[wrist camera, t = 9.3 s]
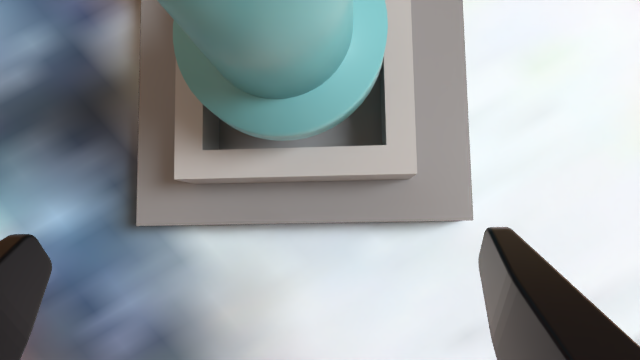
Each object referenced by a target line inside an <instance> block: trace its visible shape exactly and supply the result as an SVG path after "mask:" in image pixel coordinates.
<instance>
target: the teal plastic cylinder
mask: <svg viewBox="0 0 640 360" xmlns="http://www.w3.org/2000/svg"><path fill="white" fill-rule="evenodd" d="M157 1H158V2H159V3H160V4H161V6H162V7H163V8H164V9H165V10H166V11H167V12H168V14H169V15H170V16H171V17H172V18H173V19H174V21H173V45H174V52H175V56H176V60H177V64H178V67H179V69H180V71H181V74H182V76H183V78H184V80H185V82H186V83H187V85H188V87H189V88H190V90H191V91H192V92H193V94H194V95H195V96H196V97H197V99H198V100H199V101H200V102H201V103H202V104H203V105H204V106H205V107H207V108H208V109H209V110H210V111H211V112H212V113H214V114H215V115H216V116H217V117H219V118H220V119H221V120H223V121H224V122H225V123H227V124H228V125H230V126H231V127H233V128H235V129H237V130H239V131H240V132H242V133H245V134H248V135H251V136H253V137H257V138H262V139H266V140H276V141H289V140H298V139H304V138H308V137H311V136H315V135H318V134H320V133H323V132H325V131H327V130H329V129H331V128H333V127H335V126H336V125H338V124H339V123H341V122H343V121H344V120H345V119H346V118H348V117H349V116H350V115H351V114H352V113H354V111H355V110H356V109H357V108H358V107H359V106H360V105H361V104H362V103H363V102H364V100H365V99H366V97H367V96H368V95H369V93H370V92H371V90H372V88H373V86H374V84H375V82H376V80H377V78H378V75H379V72H380V70H381V66H382V62H383V57H384V52H385V47H386V41H387V31H388V18H387V9H386V3H385V0H157Z"/></svg>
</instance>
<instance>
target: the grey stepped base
mask: <svg viewBox="0 0 640 360" xmlns="http://www.w3.org/2000/svg"><path fill="white" fill-rule="evenodd" d="M385 3H386V9H387V18H388V31H387V41H386V47H385V52H384V57H383V62H382V66H381V70H380V72H379V75H378V78H377V80H376V82H375V84H374V86H373V88H372V90H371V92H370V93H369V95H368V96H367V97H366V99H365V100H364V102H363V103H362V104H361V105H360V106H359V107H358V108H357V109H356V110H355V111H354V113H352V114H351V115H350V116H349V117H348V118H346V119H345V120H344V121H343V122H341V123H339V124H338V125H336V126H335V127H333V128H331V129H329V130H327V131H325V132H323V133H320V134H318V135H315V136H311V137H308V138H304V139H298V140H289V141H276V140H266V139H262V138H257V137H253V136H251V135H248V134H245V133H242V132H240V131H239V130H237V129H235V128H233V127H231V126H230V125H228V124H227V123H225V122H224V121H223V120H221V119H220V118H219V117H217V116H216V115H215V114H214V113H212V112H211V111H210V110H209V109H208V108H207V107H205V106H204V105H203V104H202V103H201V102H200V101H199V100H198V99H197V97H196V96H195V95H194V94H193V92H192V91H191V90H190V88H189V87H188V85H187V83H186V82H185V80H184V78H183V76H182V74H181V71H180V69H179V67H178V64H177V60H176V56H175V52H174V45H173V21H174V19H173V18H172V17H171V16H170V15H169V14H168V12H167V11H166V10H165V9H164V8H163V7H162V6H161V4H160V3H159V2H158V1H157V0H141V31H140V77H139V124H138V171H137V217H136V226H164V225H223V224H283V223H342V222H401V221H460V220H473V205H472V185H471V164H470V144H469V123H468V102H467V82H466V61H465V41H464V20H463V0H385Z"/></svg>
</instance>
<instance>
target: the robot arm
mask: <svg viewBox="0 0 640 360" xmlns="http://www.w3.org/2000/svg"><path fill="white" fill-rule="evenodd" d="M51 271H52V263H51V260H50V258H49V257H48V255H47V254H46V252H45V251H44V249H43V248H42V246H41V245H40V243H39V241H38V240H37V239H36V237H34V236H33V235H30V234H14V235H10V236H7V237H6V238H4V239H3V240H1V241H0V360H20V358H21V356H22V354H23V351H24V349H25V347H26V344H27V342H28V339H29V337H30V334H31V331H32V328H33V325H34V322H35V319H36V316H37V313H38V310H39V307H40V304H41V301H42V298H43V295H44V292H45V289H46V286H47V283H48V280H49V277H50V274H51ZM479 271H480V277H481V282H482V288H483V294H484V299H485V305H486V311H487V317H488V322H489V328H490V333H491V338H492V343H493V346H494V350H495V354H496V357H497V360H640V346H639V345H638V344H636V343H635V342H634V341H633V340H632V339H631V338H630V337H629V336H628V335H627V334H625V333H624V332H623V331H622V330H621V329H620V328H619V327H618V326H617V325H616V324H615V323H613V322H612V321H611V320H610V319H609V318H608V317H607V316H606V315H605V314H604V313H603V312H601V311H600V310H599V309H598V308H597V307H596V306H595V305H594V304H593V303H592V302H591V301H589V300H588V299H587V298H586V297H585V296H584V295H583V294H582V293H581V292H580V291H579V290H577V289H576V288H575V287H574V286H573V285H572V284H571V283H570V282H569V281H568V280H567V279H565V278H564V277H563V276H562V275H561V274H560V273H559V272H558V271H557V270H556V269H555V268H553V267H552V266H551V265H550V264H549V263H548V262H547V261H546V260H545V259H544V258H543V257H541V256H540V255H539V254H538V253H537V252H536V251H535V250H534V249H533V248H532V247H531V246H529V245H528V244H527V243H526V242H525V241H524V240H523V239H522V238H521V237H520V236H519V235H517V234H516V233H515V232H514V231H513V230H512V229H510V228H508V227H490V228H487V229H486V231H485V233H484V237H483V241H482V245H481V249H480V254H479Z"/></svg>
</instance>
